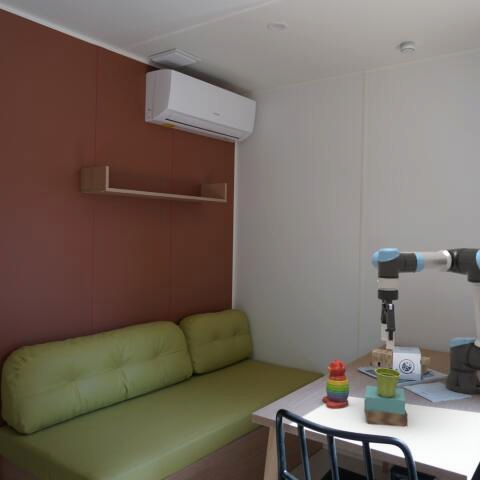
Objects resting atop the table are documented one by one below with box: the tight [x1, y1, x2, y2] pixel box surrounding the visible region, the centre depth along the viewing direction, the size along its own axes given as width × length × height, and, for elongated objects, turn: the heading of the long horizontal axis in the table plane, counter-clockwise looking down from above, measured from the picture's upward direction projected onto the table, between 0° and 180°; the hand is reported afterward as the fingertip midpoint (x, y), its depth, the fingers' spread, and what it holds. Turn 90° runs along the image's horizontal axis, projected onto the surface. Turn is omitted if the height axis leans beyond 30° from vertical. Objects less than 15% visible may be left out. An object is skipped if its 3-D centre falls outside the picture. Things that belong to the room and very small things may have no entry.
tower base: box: [363, 404, 408, 427], centre depth 188 cm, size 14×14×5 cm
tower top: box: [364, 385, 406, 414], centre depth 189 cm, size 14×14×5 cm
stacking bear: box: [321, 359, 350, 410], centre depth 203 cm, size 11×10×18 cm
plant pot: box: [374, 367, 402, 397], centre depth 186 cm, size 9×9×9 cm
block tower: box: [371, 348, 431, 376], centre depth 256 cm, size 8×8×29 cm
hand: (387, 344), depth 188 cm, fingers open, 13 cm apart
